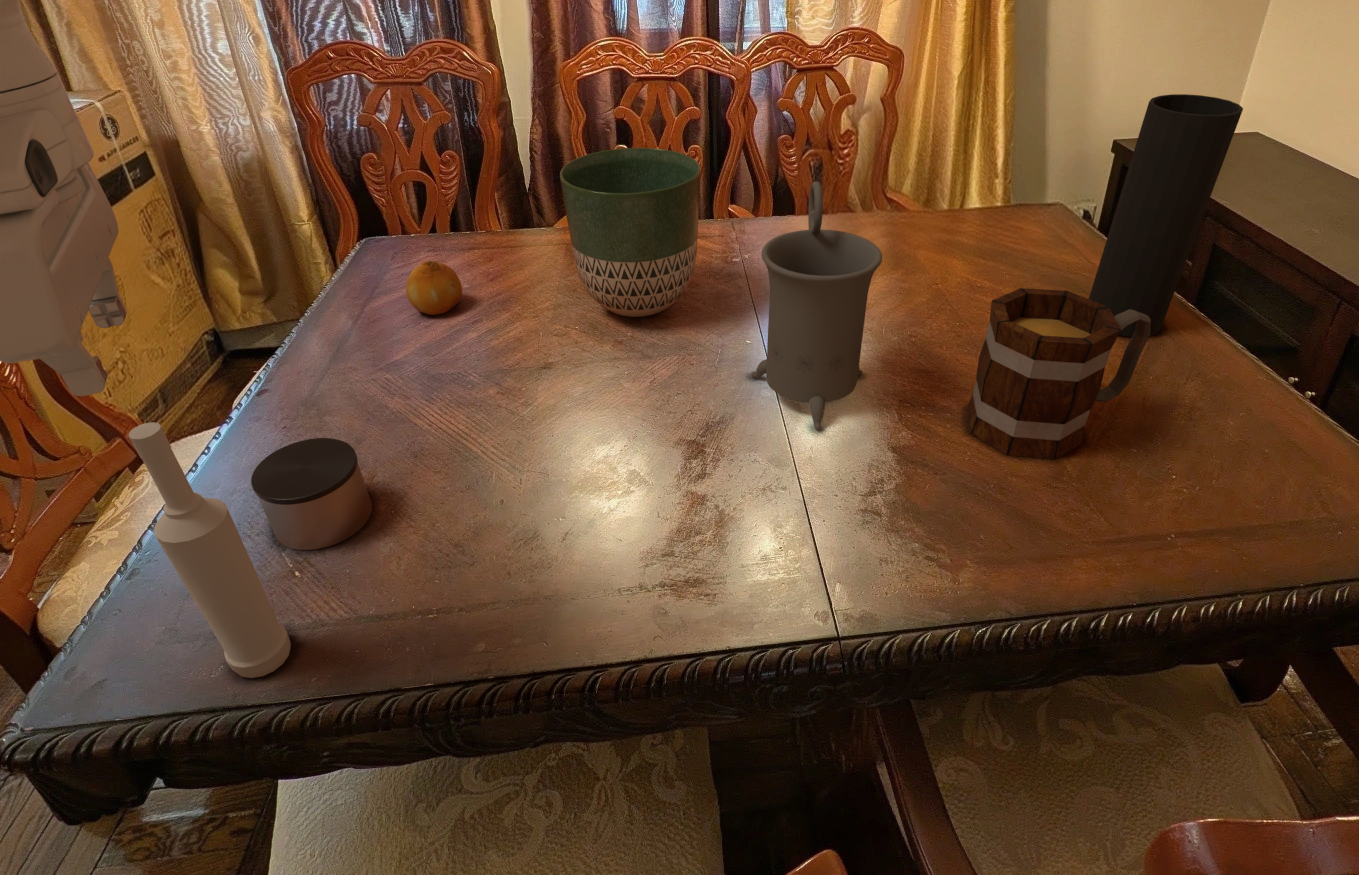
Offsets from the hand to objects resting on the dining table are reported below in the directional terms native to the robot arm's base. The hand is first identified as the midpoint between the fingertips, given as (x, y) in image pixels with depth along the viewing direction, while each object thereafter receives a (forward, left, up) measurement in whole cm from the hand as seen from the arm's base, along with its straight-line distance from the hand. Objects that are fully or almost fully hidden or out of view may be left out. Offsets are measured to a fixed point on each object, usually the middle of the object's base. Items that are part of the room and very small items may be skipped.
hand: (104, 353), depth 53 cm
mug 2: (+66, -18, -32) cm, 75 cm away
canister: (+14, +12, -31) cm, 36 cm away
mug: (+76, -45, -32) cm, 94 cm away
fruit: (+53, +41, -32) cm, 74 cm away
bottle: (0, 0, -32) cm, 32 cm away
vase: (+108, -46, -32) cm, 122 cm away
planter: (+71, +15, -32) cm, 79 cm away
